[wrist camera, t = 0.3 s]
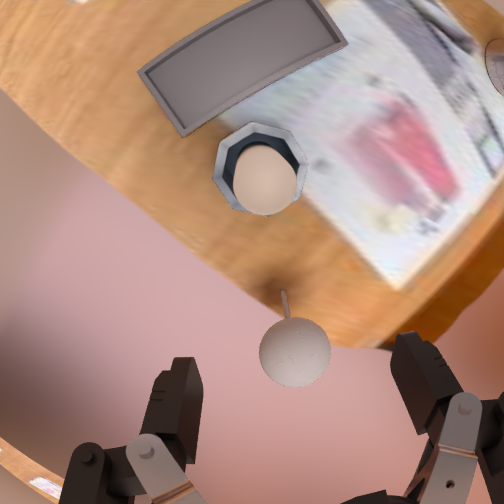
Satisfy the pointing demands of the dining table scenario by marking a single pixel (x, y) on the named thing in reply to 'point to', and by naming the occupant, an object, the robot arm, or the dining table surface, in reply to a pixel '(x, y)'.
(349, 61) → the dining table surface
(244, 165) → the peg
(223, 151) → the grey octagonal collar
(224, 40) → the tray
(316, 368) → the lollipop
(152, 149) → the dining table surface
